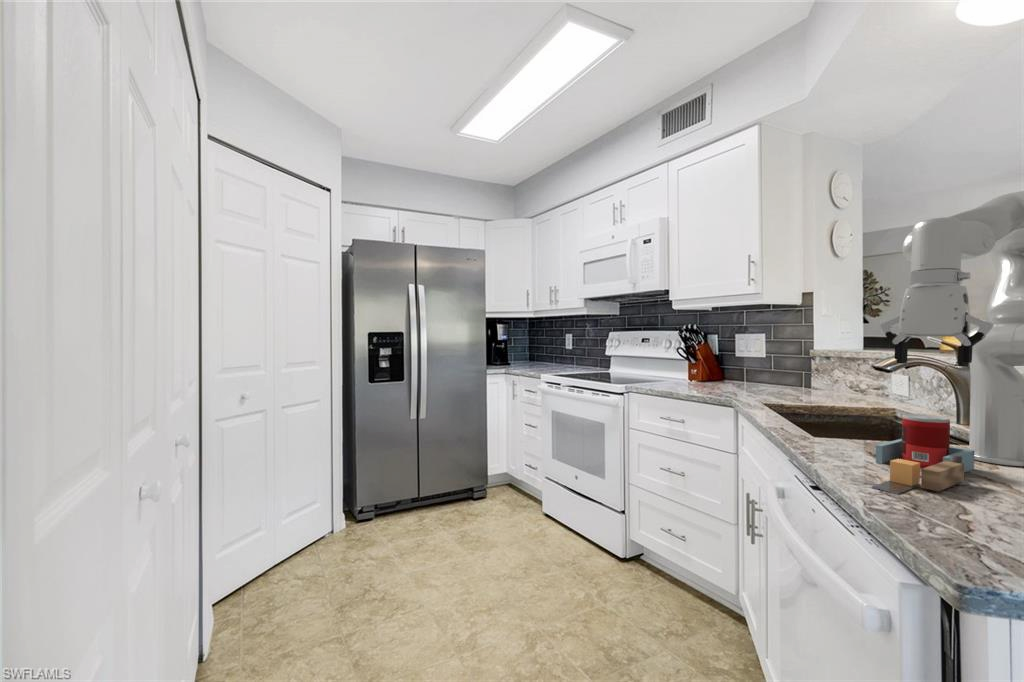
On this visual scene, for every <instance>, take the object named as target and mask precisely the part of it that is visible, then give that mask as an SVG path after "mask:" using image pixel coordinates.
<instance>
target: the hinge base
mask: <svg viewBox="0 0 1024 682" xmlns="http://www.w3.org/2000/svg"><path fill="white" fill-rule="evenodd" d="M963 485H967V486H970V482H969V481H967V480H964V481H962V482H960V483H958V484H955V485H954V486H963Z"/></svg>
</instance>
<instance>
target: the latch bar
mask: <svg viewBox="0 0 1024 682" xmlns="http://www.w3.org/2000/svg"><path fill="white" fill-rule="evenodd" d="M964 479H965V472H964V463H962V457H961V456H957V455H950V457H949V460H946V461H943V462H941V463H938V464H935V465H932V466H929V467H926V468H921V469H920V484H921V486H920V487H921V489H922V488H923V489H927V490H931V491H935V492H941V491H942V490H945V489H947V488H951V487H953V486H956V485H955V484H958V483H960V482H962V481H964Z"/></svg>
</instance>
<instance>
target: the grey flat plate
mask: <svg viewBox="0 0 1024 682" xmlns="http://www.w3.org/2000/svg"><path fill="white" fill-rule="evenodd" d="M920 485H921V483H919V484H916V485H914V486H909V485H905V484H900V483H896V482H892V481H890V479H889V480H887V481H884V482H881V483H878V484H875V485H872V486H871V488H872V489H874V488H875V489H874V490H878V489H880V491H882V490H883V492H886V491H887V492H888V493H890V492H891V493H890V494H894V493H895V494H894V495H899V494H902V492H903V493H904V492H907V491H910V490H913V489H915V487H916V488H918V487H921V486H920ZM917 486H918V487H917ZM912 488H913V489H912ZM887 492H886V493H887Z"/></svg>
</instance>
